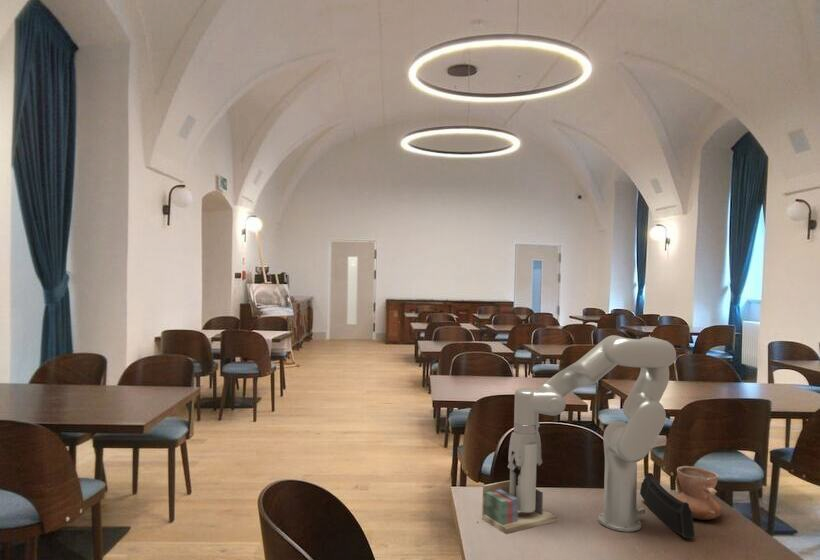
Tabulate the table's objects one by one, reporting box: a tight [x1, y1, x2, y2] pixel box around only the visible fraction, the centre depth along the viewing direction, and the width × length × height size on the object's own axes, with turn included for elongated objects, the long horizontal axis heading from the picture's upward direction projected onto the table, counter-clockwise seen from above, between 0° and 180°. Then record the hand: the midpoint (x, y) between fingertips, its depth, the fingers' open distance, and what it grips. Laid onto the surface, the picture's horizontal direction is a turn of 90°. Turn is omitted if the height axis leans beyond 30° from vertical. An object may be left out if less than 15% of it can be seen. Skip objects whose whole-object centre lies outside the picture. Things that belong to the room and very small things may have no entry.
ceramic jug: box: [673, 465, 722, 521], centre depth 184 cm, size 18×14×14 cm
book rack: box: [481, 479, 557, 535], centre depth 176 cm, size 12×20×10 cm, turn 119°
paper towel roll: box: [509, 443, 537, 512], centre depth 177 cm, size 7×6×21 cm
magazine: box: [639, 472, 696, 539], centre depth 178 cm, size 17×3×30 cm
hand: (524, 485), depth 177 cm, fingers closed on paper towel roll, 3 cm apart
